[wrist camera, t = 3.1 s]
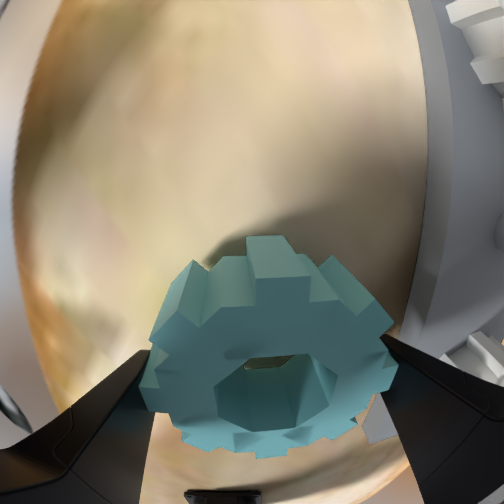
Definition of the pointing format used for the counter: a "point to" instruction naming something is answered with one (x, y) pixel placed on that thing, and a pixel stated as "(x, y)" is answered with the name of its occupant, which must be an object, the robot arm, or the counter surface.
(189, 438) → the teal gear
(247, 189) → the counter surface
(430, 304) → the gear board
